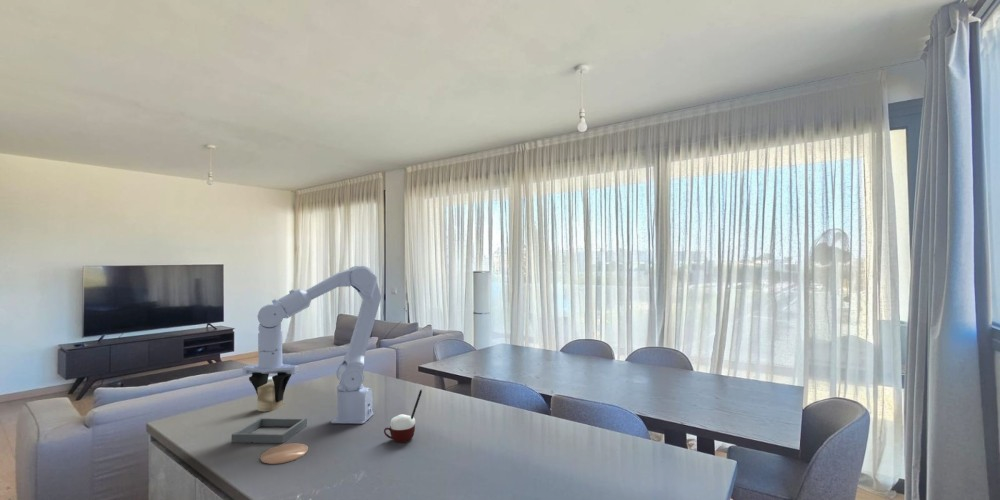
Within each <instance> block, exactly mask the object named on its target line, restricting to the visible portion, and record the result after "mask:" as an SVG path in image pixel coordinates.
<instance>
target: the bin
mask: <svg viewBox="0 0 1000 500" xmlns="http://www.w3.org/2000/svg"><path fill="white" fill-rule="evenodd" d="M305 426H306V427H307V426H308V418H306V417H301V418H300V417H259V418H258V419H256V420H253V421H252V422H251V423H249V424H247V425H245V426H244V427H242V428H240V429H239V430H237V431H235V432H233V433H231V443H247V442H248V443H251V442H253V443H256V444H257V442H258V443H259V444H260V443H261V444H262V443H263V444H285V442H286V441H288V440H289V439H291V438H292V437H294V436H295V435H296V434H298V433H299V432H300V431H301V430H303V429H305V428H306V427H305ZM261 427H289V428H288V429H286V430H284V431H283V432H282V433H262V432H261V433H259V432H257V433H256V432H255V433H254V431H256V430H258V429H259V428H261ZM252 431H253V432H252Z"/></svg>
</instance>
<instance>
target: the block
mask: <svg viewBox="0 0 1000 500" xmlns="http://www.w3.org/2000/svg"><path fill="white" fill-rule="evenodd" d="M283 405H284V399H283V400H281V401H279V402H276V400H275V387H274V382H269V383H267V384H265V385H262V386H260V387H258V396H257V411H258V412H262V411H264V412H273V411H275V410H277V409H278V408H281V407H282V406H283Z"/></svg>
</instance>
